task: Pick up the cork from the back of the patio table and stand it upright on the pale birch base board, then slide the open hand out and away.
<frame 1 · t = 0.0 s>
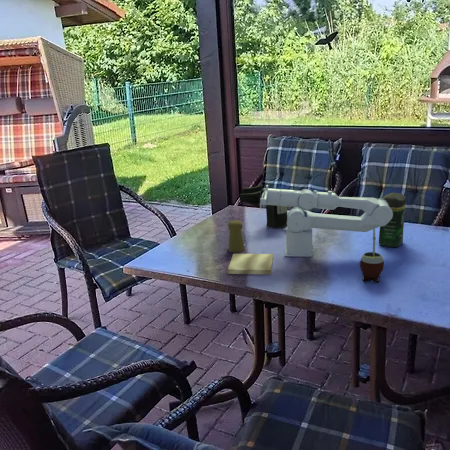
hand: (241, 194, 171), 22 cm above the table, tool horizontal, fingers open, 7 cm apart
coffee jar: (390, 244, 179), on the table
mate gourd: (370, 279, 152), on the table
cork: (236, 250, 181), on the table
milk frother: (285, 227, 203), on the table
birch base board: (251, 265, 166), on the table
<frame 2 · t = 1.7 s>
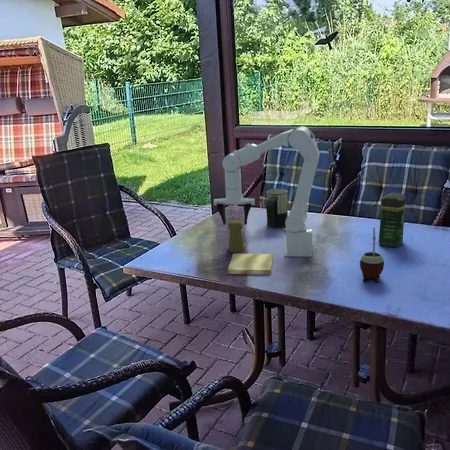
hand: (235, 223, 178), 10 cm above the table, tool pointing down, fingers open, 7 cm apart
nothing on the table moved.
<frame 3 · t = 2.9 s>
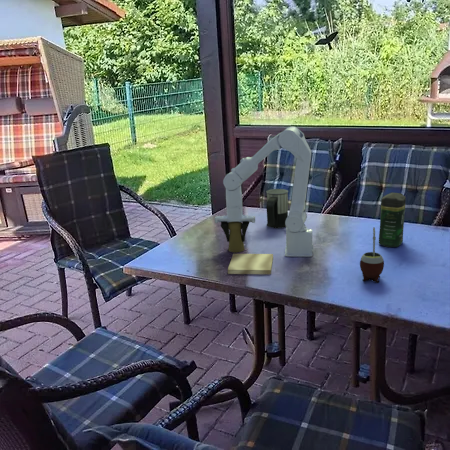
hand: (236, 240, 180), 3 cm above the table, tool pointing down, fingers closed on cork, 5 cm apart
cork: (236, 250, 181), on the table, touching gripper
everything else where it was.
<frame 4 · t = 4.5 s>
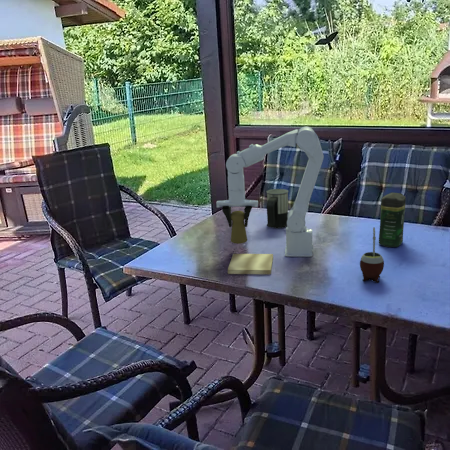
hand: (238, 226, 175), 10 cm above the table, tool pointing down, fingers closed on cork, 5 cm apart
cork: (239, 240, 177), point 4 cm above the table, touching gripper
everything else where it was.
when the fingers open (6 cm above the table, at t = 6.5 s): cork stays where it is, resting on birch base board.
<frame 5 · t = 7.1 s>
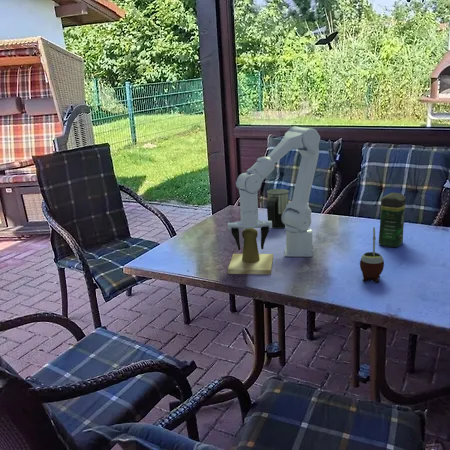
hand: (250, 248, 164), 6 cm above the table, tool pointing down, fingers open, 7 cm apart
cork: (250, 260, 167), point 1 cm above the table, touching birch base board
everything else where it was.
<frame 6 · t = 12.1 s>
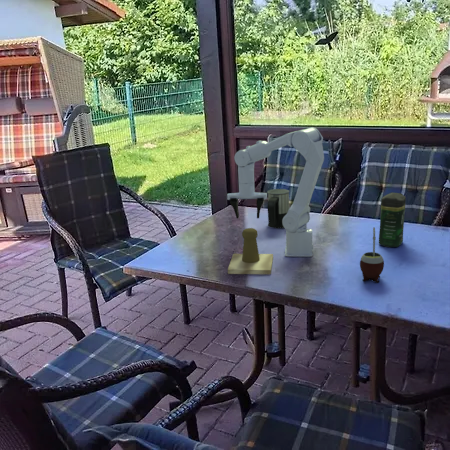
hand: (247, 217, 183), 10 cm above the table, tool pointing down, fingers open, 7 cm apart
nothing on the table moved.
at the end: cork inside the target area on the birch base board (1.6 cm from its centre), point 1.3 cm above the birch base board's base; cork tilted 0°; the gripper is holding nothing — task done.
